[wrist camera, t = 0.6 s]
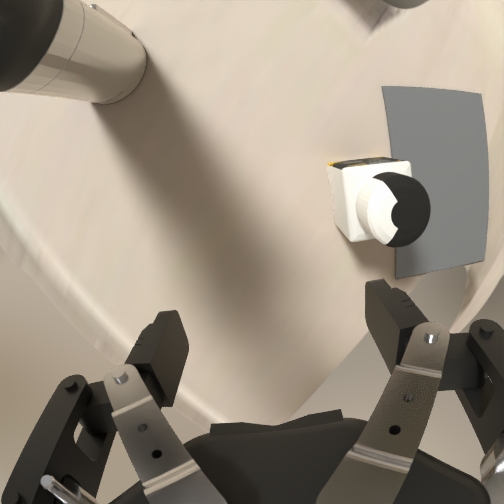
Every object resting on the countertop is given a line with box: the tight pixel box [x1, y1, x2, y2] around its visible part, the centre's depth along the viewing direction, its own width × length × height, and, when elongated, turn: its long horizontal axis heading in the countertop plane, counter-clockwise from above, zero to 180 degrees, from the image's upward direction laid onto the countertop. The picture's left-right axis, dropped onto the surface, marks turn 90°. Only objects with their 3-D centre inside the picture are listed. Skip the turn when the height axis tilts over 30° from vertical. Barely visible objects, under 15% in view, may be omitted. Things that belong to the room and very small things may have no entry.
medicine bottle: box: [327, 157, 431, 247], centre depth 27 cm, size 7×7×12 cm
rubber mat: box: [382, 86, 489, 279], centre depth 31 cm, size 24×16×1 cm, turn 9°
